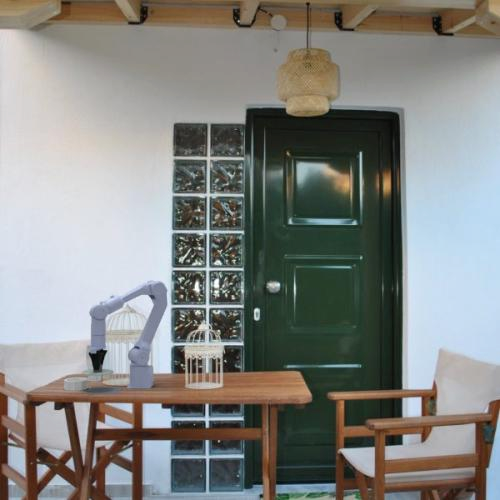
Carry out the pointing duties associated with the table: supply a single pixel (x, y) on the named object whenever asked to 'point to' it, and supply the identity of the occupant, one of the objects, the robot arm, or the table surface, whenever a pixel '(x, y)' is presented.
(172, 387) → the table surface
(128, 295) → the robot arm
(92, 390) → the mat
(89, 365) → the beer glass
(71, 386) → the bowl
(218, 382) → the table surface
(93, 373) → the lid
